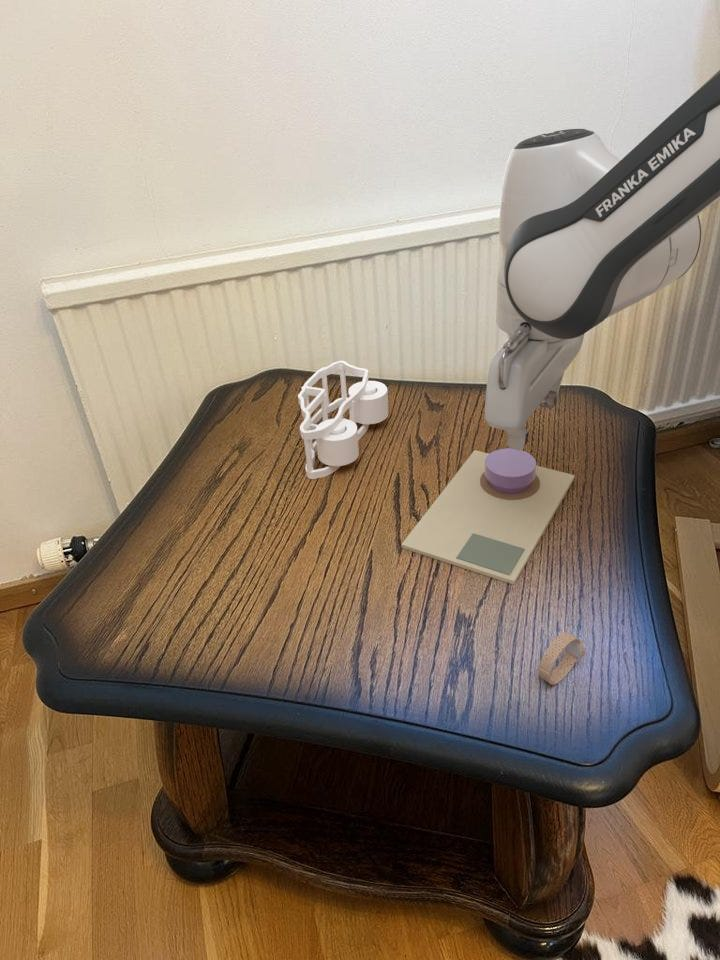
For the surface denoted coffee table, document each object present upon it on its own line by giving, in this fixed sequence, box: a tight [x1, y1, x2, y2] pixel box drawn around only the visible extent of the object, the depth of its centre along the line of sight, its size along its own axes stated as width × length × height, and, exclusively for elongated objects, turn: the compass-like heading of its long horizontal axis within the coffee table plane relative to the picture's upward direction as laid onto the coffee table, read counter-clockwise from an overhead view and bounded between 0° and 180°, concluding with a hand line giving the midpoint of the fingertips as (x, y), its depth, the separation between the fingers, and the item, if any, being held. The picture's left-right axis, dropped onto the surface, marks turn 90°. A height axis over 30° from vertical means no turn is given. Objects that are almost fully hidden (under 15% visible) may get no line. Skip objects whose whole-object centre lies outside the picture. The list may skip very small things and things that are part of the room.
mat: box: [400, 449, 576, 585], centre depth 94 cm, size 14×22×1 cm, turn 150°
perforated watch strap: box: [537, 631, 586, 686], centre depth 72 cm, size 3×5×5 cm, turn 132°
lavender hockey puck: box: [485, 447, 537, 493], centre depth 97 cm, size 6×6×3 cm
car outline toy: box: [297, 360, 389, 480], centre depth 107 cm, size 20×11×7 cm, turn 157°
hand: (533, 424), depth 84 cm, fingers open, 8 cm apart
